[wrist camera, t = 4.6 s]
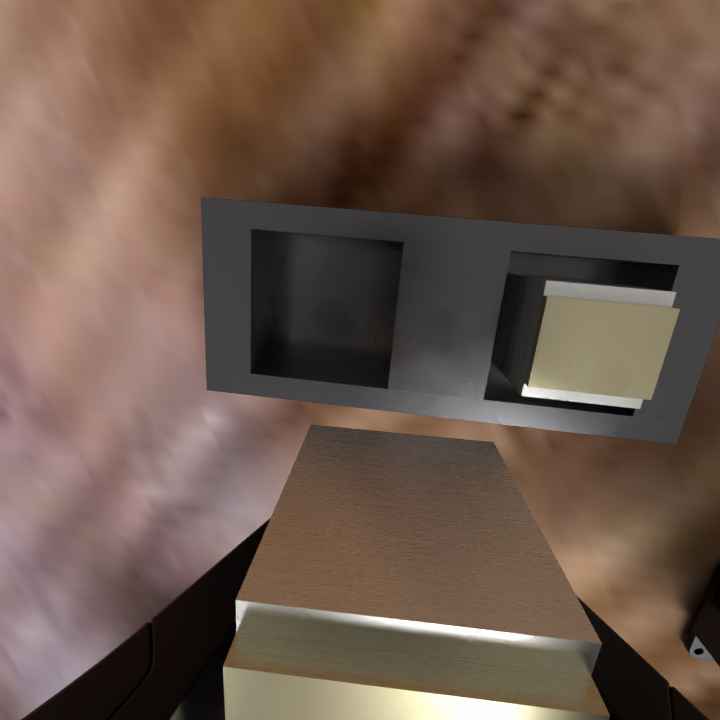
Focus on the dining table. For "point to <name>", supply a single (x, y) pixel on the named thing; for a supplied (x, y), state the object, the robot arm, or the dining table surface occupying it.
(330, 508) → the cream two-tone block
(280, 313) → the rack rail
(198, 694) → the robot arm
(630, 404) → the beige block
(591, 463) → the dining table surface
